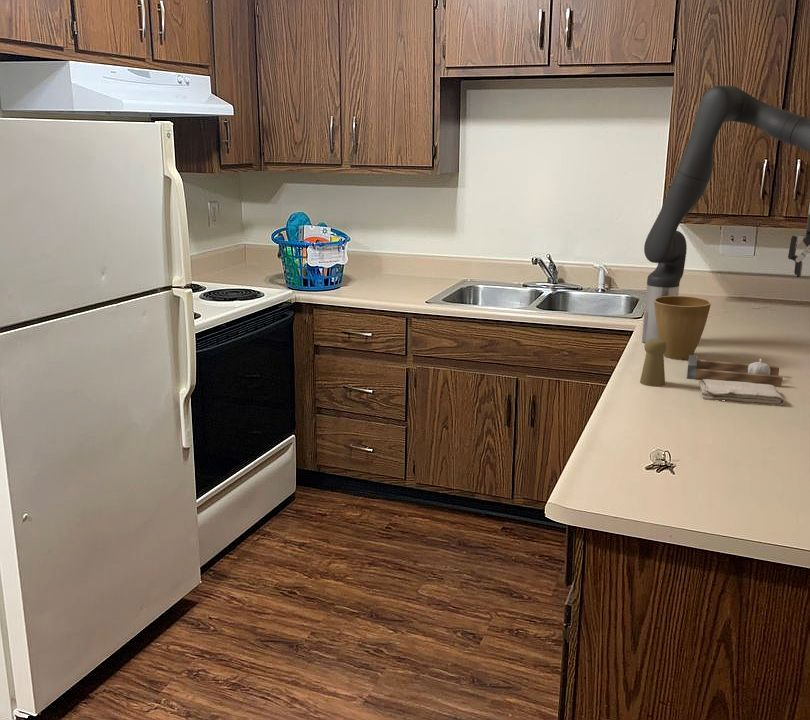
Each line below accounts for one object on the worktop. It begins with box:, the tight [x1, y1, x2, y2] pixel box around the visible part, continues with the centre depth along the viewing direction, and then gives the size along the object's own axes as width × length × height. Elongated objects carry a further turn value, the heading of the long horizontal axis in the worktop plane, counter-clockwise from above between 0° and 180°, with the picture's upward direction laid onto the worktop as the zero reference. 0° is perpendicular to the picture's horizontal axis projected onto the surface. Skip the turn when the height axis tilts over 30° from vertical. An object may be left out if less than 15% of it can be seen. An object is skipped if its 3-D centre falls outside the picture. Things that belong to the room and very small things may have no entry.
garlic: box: [748, 358, 770, 375], centre depth 206 cm, size 6×5×5 cm
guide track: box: [686, 354, 783, 388], centre depth 209 cm, size 22×11×4 cm, turn 70°
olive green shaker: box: [639, 339, 667, 387], centre depth 202 cm, size 6×6×11 cm
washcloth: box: [698, 379, 786, 407], centre depth 193 cm, size 12×18×3 cm, turn 76°
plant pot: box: [654, 295, 712, 361], centre depth 227 cm, size 15×15×16 cm
